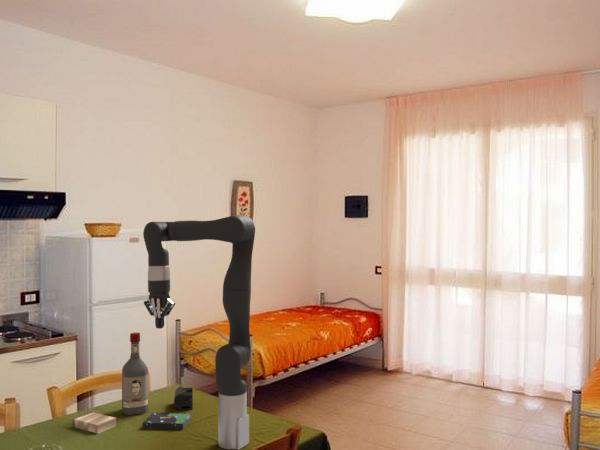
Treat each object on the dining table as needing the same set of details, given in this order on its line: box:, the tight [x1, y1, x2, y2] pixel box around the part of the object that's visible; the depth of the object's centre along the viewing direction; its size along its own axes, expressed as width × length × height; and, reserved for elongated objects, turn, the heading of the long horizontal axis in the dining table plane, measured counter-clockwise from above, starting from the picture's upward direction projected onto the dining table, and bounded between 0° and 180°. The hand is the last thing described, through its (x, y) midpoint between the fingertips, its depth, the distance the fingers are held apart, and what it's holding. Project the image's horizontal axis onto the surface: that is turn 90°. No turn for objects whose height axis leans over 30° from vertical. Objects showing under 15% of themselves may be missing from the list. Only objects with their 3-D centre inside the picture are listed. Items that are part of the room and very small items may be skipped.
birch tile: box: [72, 411, 117, 434], centre depth 187 cm, size 3×8×13 cm
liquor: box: [121, 332, 149, 416], centre depth 202 cm, size 9×9×30 cm
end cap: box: [173, 385, 194, 411], centre depth 207 cm, size 10×7×7 cm
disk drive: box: [142, 412, 192, 431], centre depth 189 cm, size 10×3×15 cm
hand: (159, 328), depth 182 cm, fingers closed
